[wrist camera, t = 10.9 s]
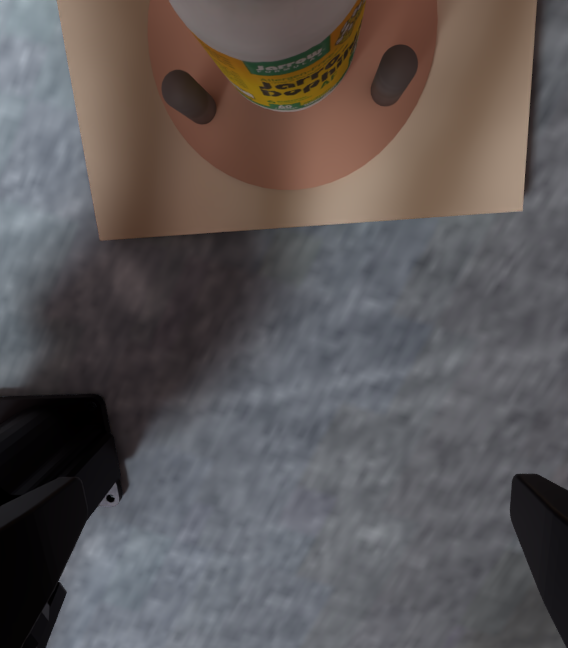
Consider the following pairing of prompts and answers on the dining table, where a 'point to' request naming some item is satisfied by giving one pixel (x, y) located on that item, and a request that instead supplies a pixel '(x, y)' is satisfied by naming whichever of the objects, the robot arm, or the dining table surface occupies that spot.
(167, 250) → the dining table surface
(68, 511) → the robot arm
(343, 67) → the supplement bottle
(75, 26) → the pin board
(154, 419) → the dining table surface
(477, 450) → the dining table surface
